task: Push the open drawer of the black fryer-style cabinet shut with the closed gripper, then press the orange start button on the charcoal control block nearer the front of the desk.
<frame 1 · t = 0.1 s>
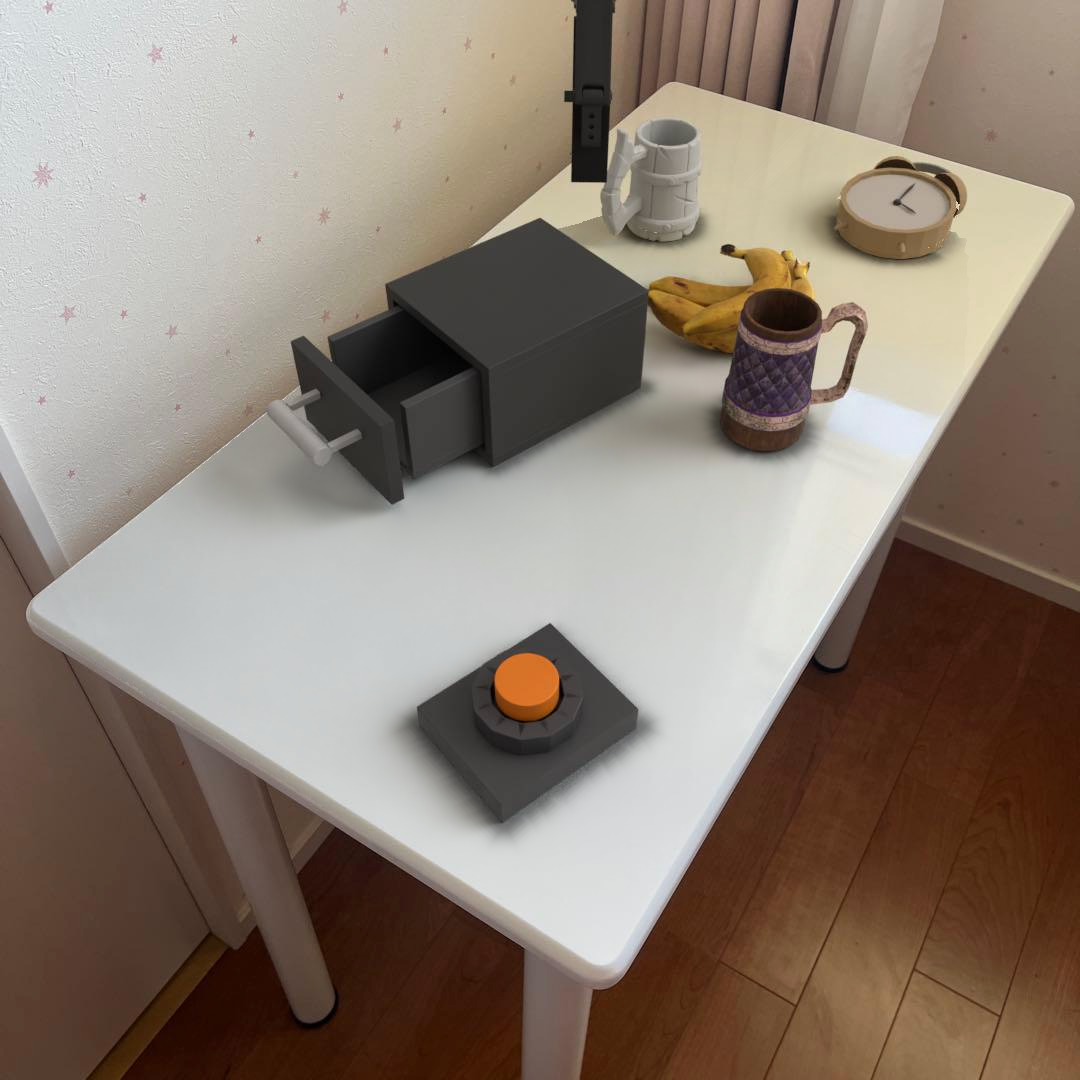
hand: (588, 137, 88), 18 cm above the table, tool pointing down, fingers open, 13 cm apart
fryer: (518, 384, 96), on the table
start button: (526, 686, 69), point 4 cm above the table, slide at 0.1 cm
control block: (527, 726, 72), on the table
banana: (726, 313, 103), on the table
mug: (645, 231, 113), on the table
mug 2: (779, 428, 92), on the table
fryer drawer: (397, 395, 87), point 5 cm above the table, slide at 8.0 cm
alarm clock: (898, 224, 114), on the table
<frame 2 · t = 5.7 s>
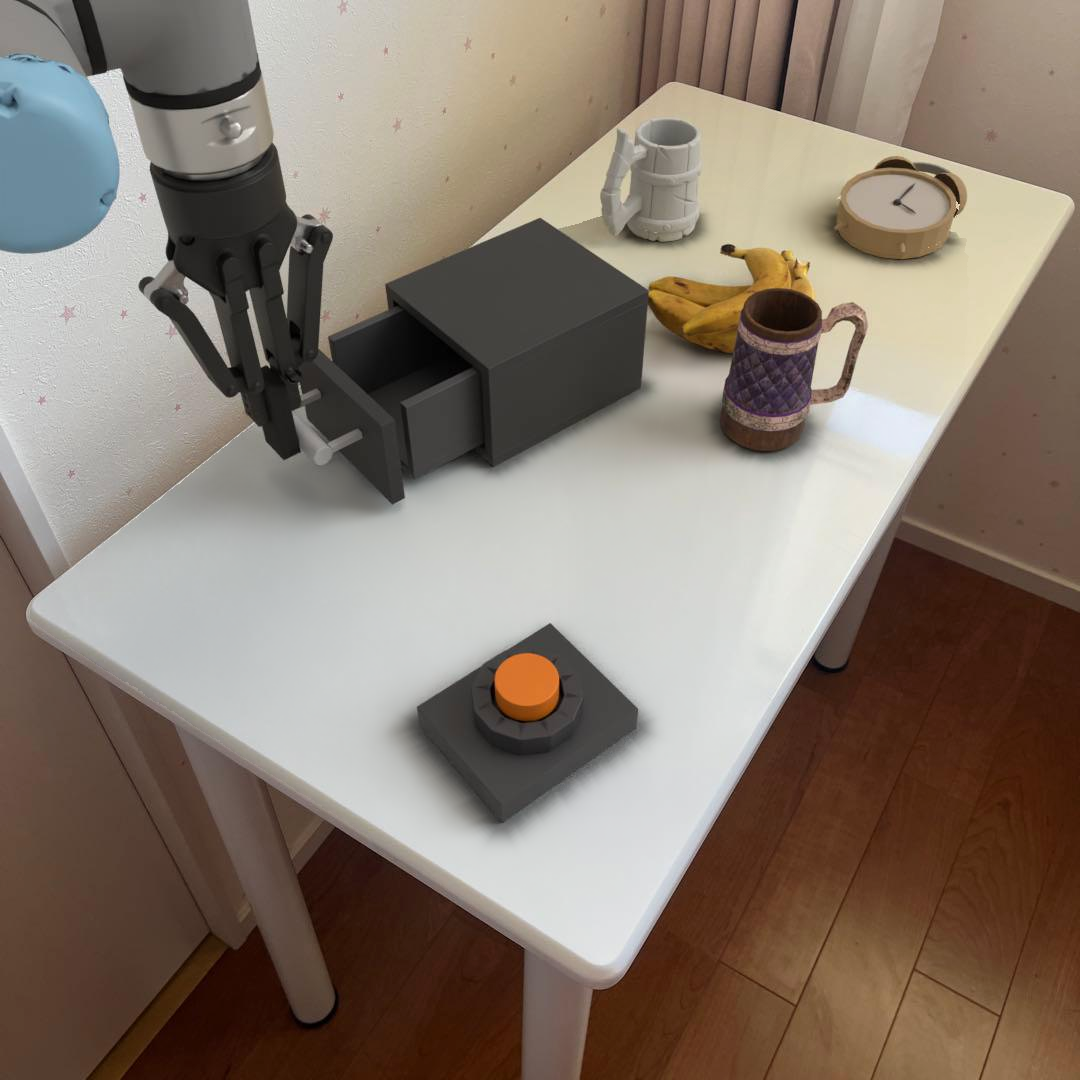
hand: (283, 446, 82), 5 cm above the table, tool pointing down, fingers closed
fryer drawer: (397, 395, 87), point 5 cm above the table, slide at 7.9 cm, touching gripper
everything else where it was.
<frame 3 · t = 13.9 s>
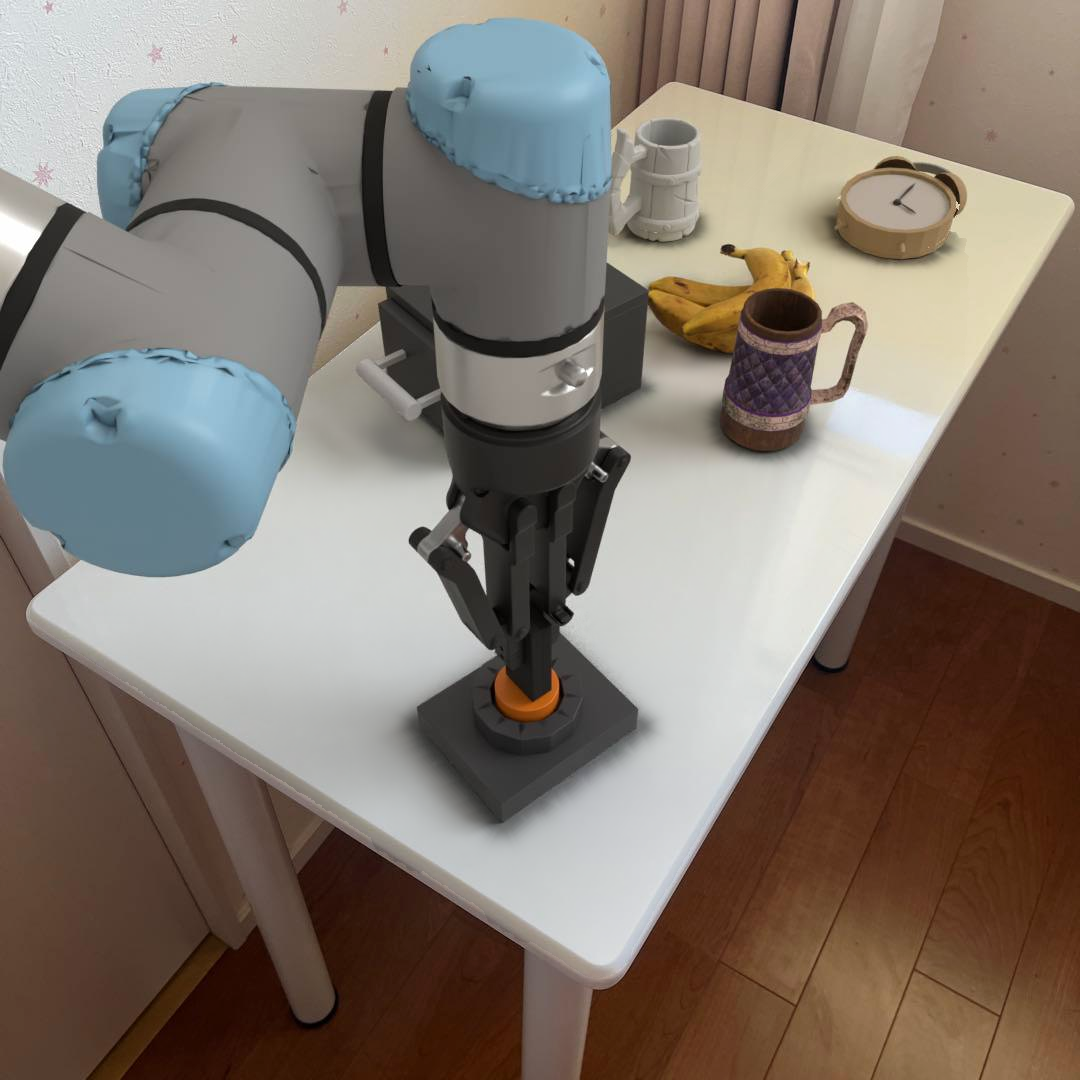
hand: (528, 681, 68), 5 cm above the table, tool pointing down, fingers closed
start button: (527, 692, 69), point 4 cm above the table, slide at -0.5 cm, touching gripper
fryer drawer: (478, 356, 90), point 5 cm above the table, slide at 0.0 cm, touching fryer
everything else where it was.
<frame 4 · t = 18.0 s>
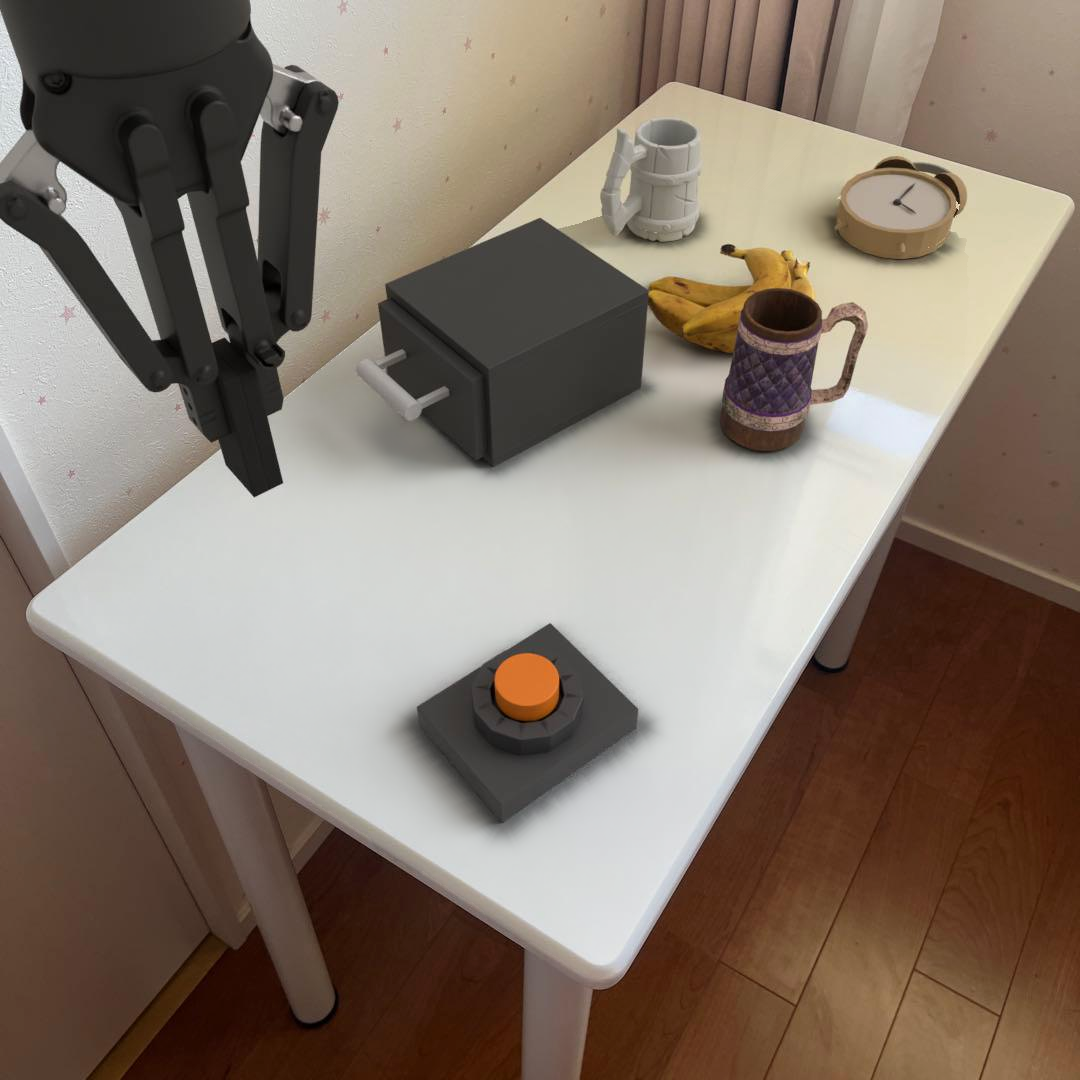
hand: (254, 473, 50), 26 cm above the table, tool pointing down, fingers closed
start button: (526, 686, 69), point 4 cm above the table, slide at 0.1 cm
everything else where it was.
at the end: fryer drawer slide at 0.0 cm; start button pushed in 0.9 cm at the most during the clip, back to where it started at the end; start button slide at 0.1 cm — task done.
